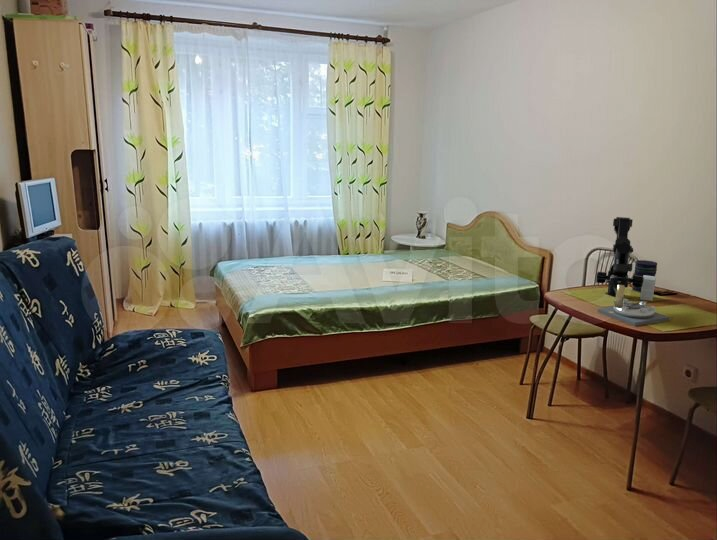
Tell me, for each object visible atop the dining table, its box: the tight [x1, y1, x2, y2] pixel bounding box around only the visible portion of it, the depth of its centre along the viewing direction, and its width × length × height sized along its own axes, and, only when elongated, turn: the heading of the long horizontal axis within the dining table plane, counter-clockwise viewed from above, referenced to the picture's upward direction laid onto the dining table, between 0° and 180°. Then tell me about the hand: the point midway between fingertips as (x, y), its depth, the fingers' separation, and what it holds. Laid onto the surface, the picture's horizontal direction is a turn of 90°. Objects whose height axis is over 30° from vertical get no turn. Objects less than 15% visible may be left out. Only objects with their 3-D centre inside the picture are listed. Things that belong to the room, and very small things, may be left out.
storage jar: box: [632, 259, 658, 293], centre depth 269 cm, size 10×10×15 cm
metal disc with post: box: [612, 284, 656, 318], centre depth 229 cm, size 16×16×12 cm
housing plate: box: [597, 306, 671, 327], centre depth 230 cm, size 20×20×2 cm
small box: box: [639, 275, 657, 302], centre depth 256 cm, size 8×6×10 cm
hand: (617, 295), depth 231 cm, fingers closed
